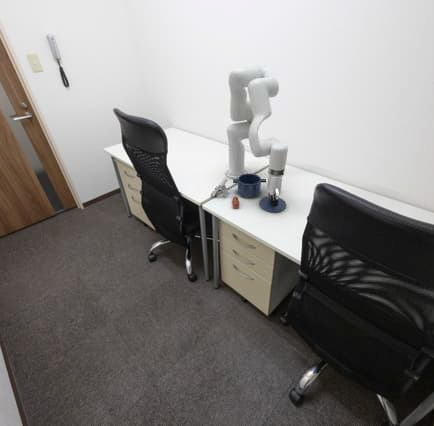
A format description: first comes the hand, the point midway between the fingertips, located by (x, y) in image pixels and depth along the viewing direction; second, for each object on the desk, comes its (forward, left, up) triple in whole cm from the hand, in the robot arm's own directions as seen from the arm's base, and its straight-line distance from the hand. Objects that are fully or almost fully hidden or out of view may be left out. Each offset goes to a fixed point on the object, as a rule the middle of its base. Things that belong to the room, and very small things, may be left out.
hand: (272, 200), depth 120 cm
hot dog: (-1, -19, -3) cm, 19 cm away
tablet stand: (-12, -27, -3) cm, 30 cm away
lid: (0, 0, -2) cm, 2 cm away
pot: (-13, -11, -3) cm, 17 cm away
